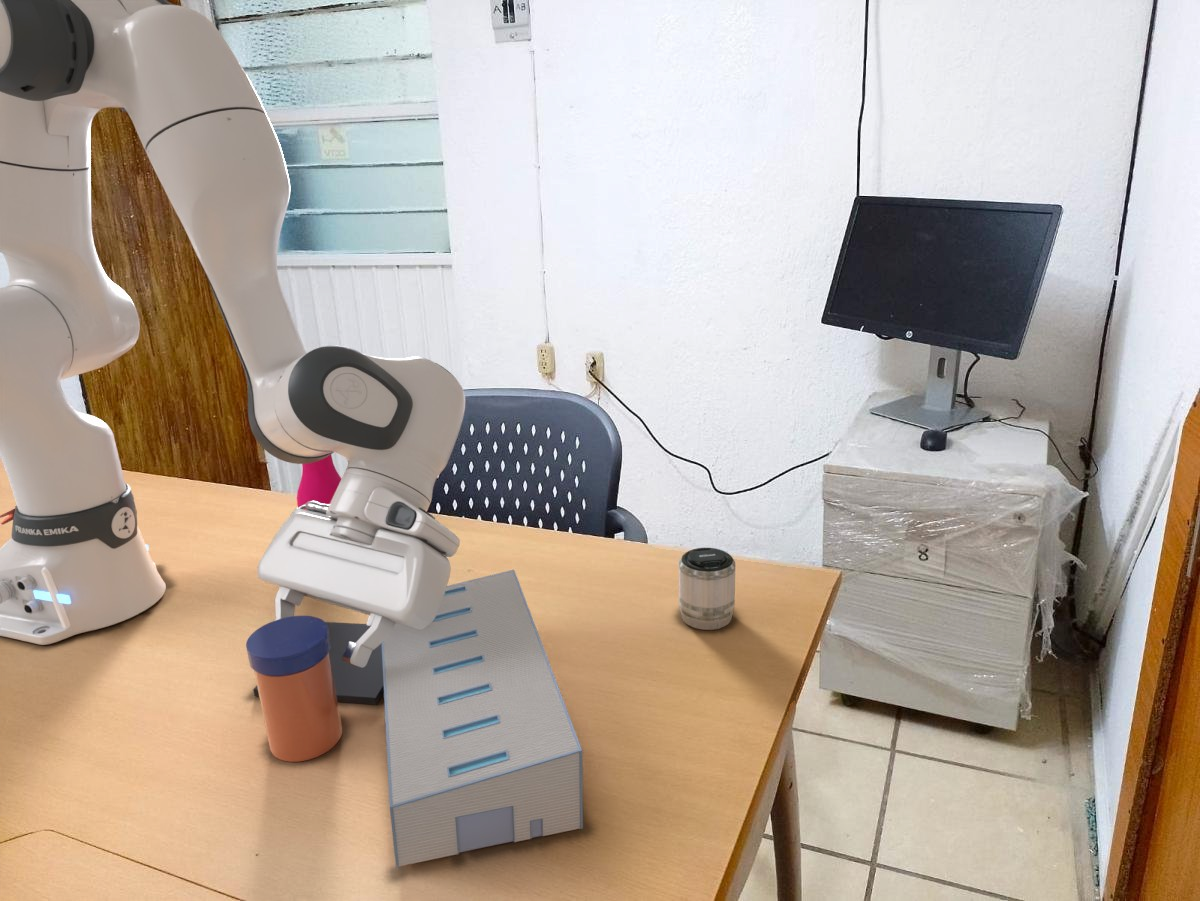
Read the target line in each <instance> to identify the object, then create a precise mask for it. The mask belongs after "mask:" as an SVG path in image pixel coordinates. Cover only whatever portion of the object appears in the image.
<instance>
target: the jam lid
mask: <svg viewBox="0 0 1200 901" xmlns="http://www.w3.org/2000/svg"><path fill="white" fill-rule="evenodd" d="M325 622H326V621H324V620H323V619H321V618H320V617H317V616H312V615H294V616H292V617H286V618H282V619H278V620H275V619H274V620H273V621H270V622H268V623H265V624H263V625H262V626H260V627H258V628H257V629H256V630H255V631H253V632H252V633H251V635H250V636H249V637H248V638H247V640H246V644H245V646H246V652H247V653H246V654H247V657H248V661H249V662H248V663H249V666H250V668H251V669H252V670H253V672H254V671H256V672H258V673H260V674H264V675H270V676H280V675H288V674H293V673H297V672H300V671H303V670H305V669H308V668H310V667H312V666H314V665H315V664H317V663H319V662H320V661H321V660H322V659H324V658H325V657H326V655H327V654H328V653H329V651H330V648H331V643H330V636H329V631H328V626H327V624H326V623H325Z"/></svg>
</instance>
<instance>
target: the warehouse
mask: <svg viewBox="0 0 1200 901" xmlns="http://www.w3.org/2000/svg"><path fill="white" fill-rule="evenodd" d="M382 662H383V682H384V694H383V698H384V699H383V700H384V719H385V720H384V721H385V739H386V740H385V741H386V742H385V743H386V762H387V780H388V799H389V800H388V804H389V813H390V824H391V833H392V843H393V852H394V861H395V868H396V869H398V868H400V867H402V866H407V865H412V864H416V863H421V862H426V861H431V860H432V861H433V860H436V859H441V858H446V857H451V856H455V855H460V853H464V852H468V851H473V850H477V849H482V848H486V847H487V848H488V847H491V846H496V845H501V844H506V843H511V842H513V843H514V844H515V843H517V842H522V841H526V840H527V841H528V840H532V838H537V837H542V838H543V837H545V836H550V835H556V834H560V833H564V832H569V831H574V830H583V829H584V790H583V789H584V779H583V778H584V776H583V773H584V768H583V767H584V766H583V765H584V764H583V760H584V759H583V748H582V747H581V743H580V741H579V738H578V736H577V732H576V730H575V727H574V725H573V722H572V720H571V717H570V714H569V711H568V709H567V706H566V703H565V701H564V697H563V696H562V693H561V690H560V688H559V685H558V682H557V679H556V677H555V674H554V671H553V669H552V667H551V664H550V661H549V658H548V656H547V653H546V651H545V648H544V645H543V643H542V640H541V637H540V634H539V632H538V629H537V626H536V624H535V620H534V618H533V616H532V613H531V610H530V607H529V605H528V603H527V600H526V597H525V595H524V592H523V590H522V587H521V584H520V581H519V579H518V576H517V573H516V571H515V569H511V570H506V571H503V572H499V573H494V574H490V575H486V576H482V577H478V578H474V579H470V580H466V581H465V580H464V581H462V582H458V583H454V584H449V585H447V588H446V591H445V594H444V597H443V599H442V602H441V605H440V607H439V610H438V612H437V615H436V617H435V619H434V620H433V622H432V623H430V624H429V625H428V626H427V627H425V628H424V629H422V630H418V629H414V628H411V627H408V626H404V625H401V624H398V623H395V625H394V627H393V630H392V632H391V635H390V636H389V637H387V638H386V639H385V640H384V641H383V642H382Z"/></svg>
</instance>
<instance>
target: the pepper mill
mask: <svg viewBox="0 0 1200 901" xmlns="http://www.w3.org/2000/svg"><path fill="white" fill-rule="evenodd" d="M301 465H302V466H301V467H302V472H301V478H300V482H299V485H298V488H297V493H296V502H297V503H296V505H297V508H298V507H300V506H301V505H304V504H306V503H307V502H309V501H316V502H319V503H321V504H330V502H331V500H332V498H333V496H334V494H335V492H336V490H337V488H338V485H339V483H340V481H341V479H342V477H341V476H340V474H339V472H338V470H337V468H336V467H335V464H334V461H333V456H332V454H331V455H329V456H327V457H326V458H324V459H322V460H320V461H317V462H313V463H308V464H301ZM304 509H305V510H307V509H306V508H304Z"/></svg>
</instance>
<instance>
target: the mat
mask: <svg viewBox="0 0 1200 901" xmlns="http://www.w3.org/2000/svg"><path fill="white" fill-rule="evenodd" d="M324 622H325V623H326V624H327V626H328V631H329V636H330V643H331V648H330V651H329V653H330V659H331V665H332V671H333V677H334V682H335V688H336V694H337V700H338V703H347V704H363V705H378V703H379V701H380V700H381V699H382V697H383V696H384V682H383V662H382V643H381V644H380V645H379V646H378V647H376V648H375V649H374V650H372V653H371V655H370V657H369V660H368V662H367V664H366V666H365V667H363V668H361V667H358V666H356V665H353V664H350V663H347V662H345V661H343V654H344V652H346V647H347V645H348V643H349V641H351V642H354V643H356V642H357V641H358V640H359V639H360V638H361V636H362V635H363V634H364V633H365V632H366V631H367V630H368V629H369V628H370V626H367V625H366V623H353V622H352V623H351V622H336V621H324ZM252 692H253V695H254V697H259V692H258V687H257V685H256V686H255V687H254V688H253V689H252Z"/></svg>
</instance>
